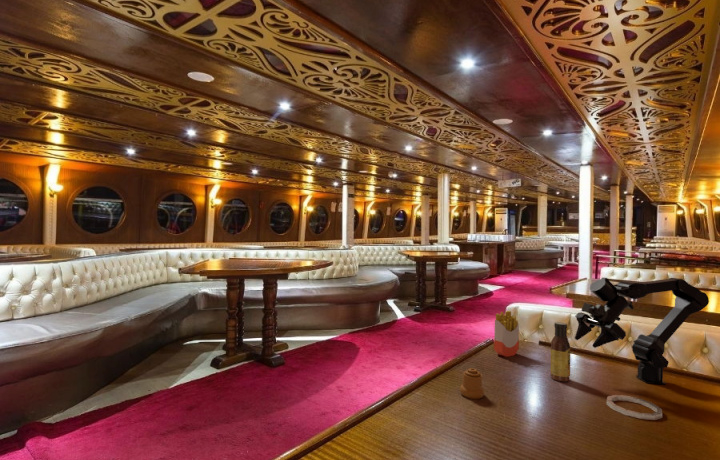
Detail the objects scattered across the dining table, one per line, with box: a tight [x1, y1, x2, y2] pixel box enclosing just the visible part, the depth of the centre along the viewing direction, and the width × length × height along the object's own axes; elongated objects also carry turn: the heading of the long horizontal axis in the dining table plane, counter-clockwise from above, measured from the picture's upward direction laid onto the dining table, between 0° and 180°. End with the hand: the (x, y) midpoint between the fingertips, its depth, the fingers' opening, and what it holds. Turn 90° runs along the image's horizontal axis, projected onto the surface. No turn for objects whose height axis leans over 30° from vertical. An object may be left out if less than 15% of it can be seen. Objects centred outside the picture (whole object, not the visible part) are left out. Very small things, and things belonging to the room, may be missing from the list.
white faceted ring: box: [606, 394, 663, 421], centre depth 115 cm, size 13×13×1 cm
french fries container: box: [493, 310, 520, 358], centre depth 164 cm, size 5×11×18 cm, turn 122°
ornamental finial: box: [459, 367, 485, 400], centre depth 121 cm, size 8×8×8 cm
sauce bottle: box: [550, 321, 571, 383], centre depth 137 cm, size 6×6×20 cm
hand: (584, 343), depth 136 cm, fingers open, 9 cm apart
